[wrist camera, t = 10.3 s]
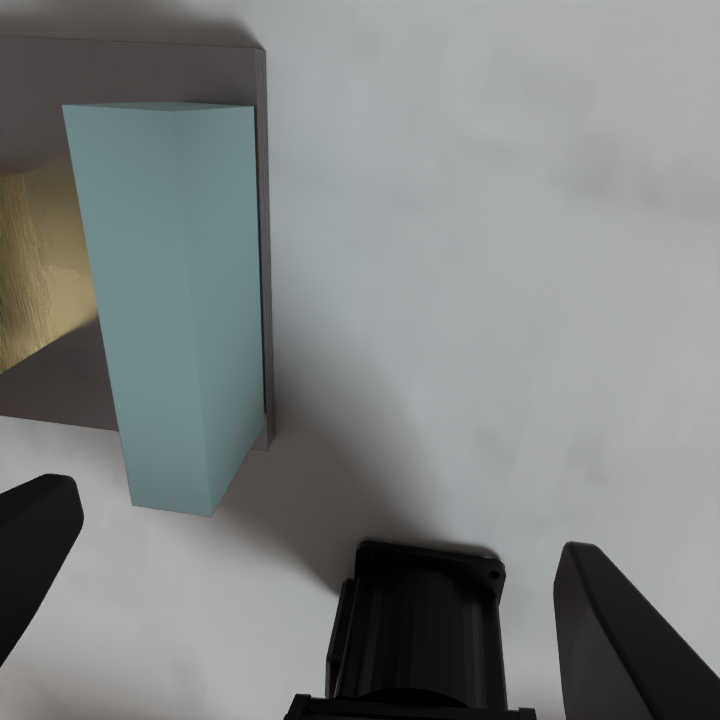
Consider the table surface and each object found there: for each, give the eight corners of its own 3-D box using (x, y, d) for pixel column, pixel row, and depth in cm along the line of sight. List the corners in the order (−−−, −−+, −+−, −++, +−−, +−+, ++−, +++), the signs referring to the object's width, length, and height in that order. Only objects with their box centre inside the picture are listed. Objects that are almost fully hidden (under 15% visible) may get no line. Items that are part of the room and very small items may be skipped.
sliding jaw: (253, 106, 16) (173, 111, 11) (264, 423, 21) (211, 517, 16) (172, 101, 16) (62, 104, 12) (201, 415, 21) (132, 505, 17)
